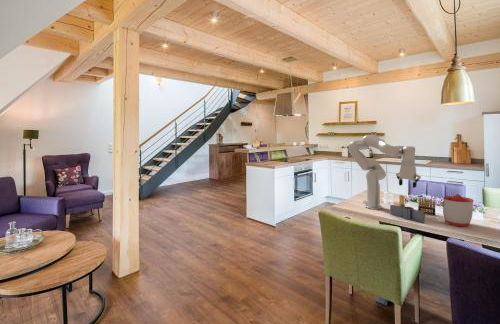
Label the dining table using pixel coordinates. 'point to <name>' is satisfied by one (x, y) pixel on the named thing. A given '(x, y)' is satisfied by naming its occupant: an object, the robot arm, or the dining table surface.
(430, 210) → the ammunition clip
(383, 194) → the dining table surface
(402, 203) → the hinge pin
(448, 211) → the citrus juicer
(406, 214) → the hinge
